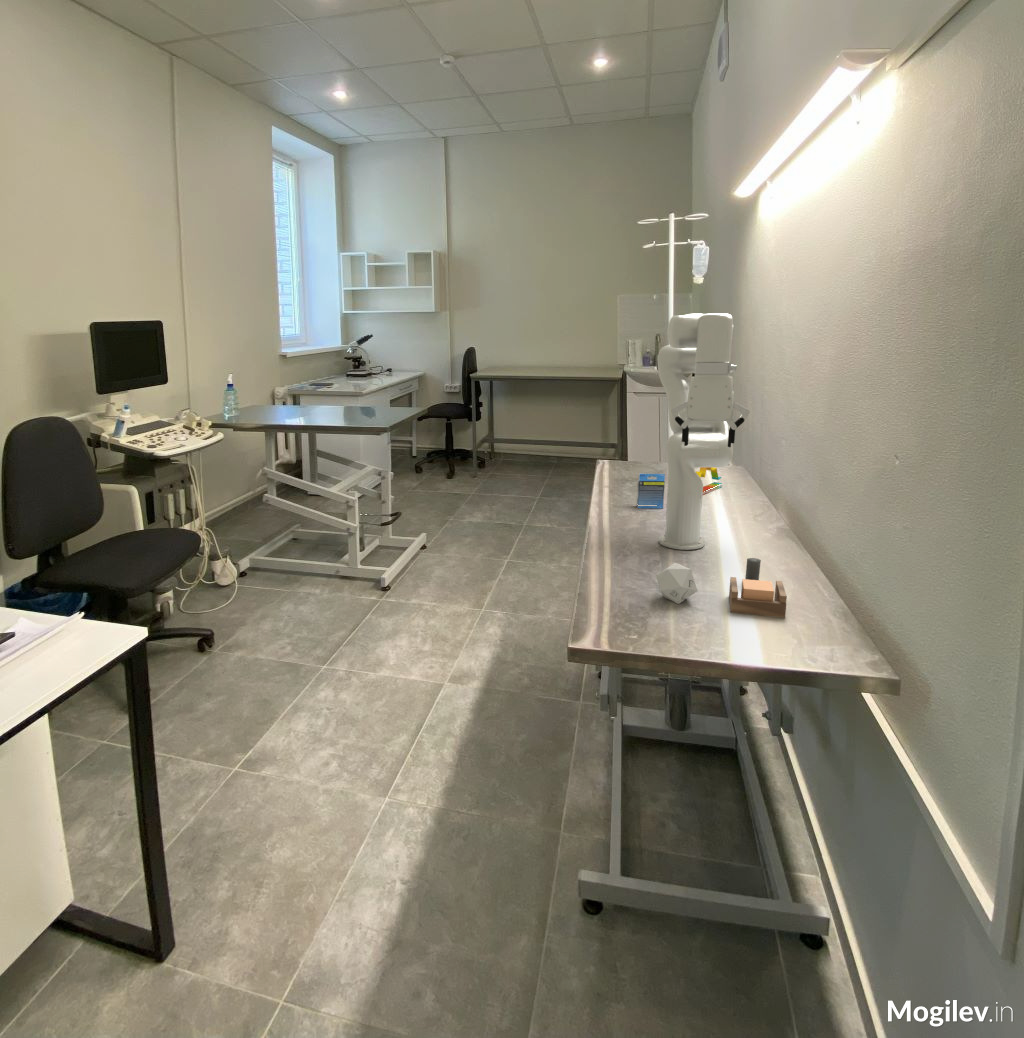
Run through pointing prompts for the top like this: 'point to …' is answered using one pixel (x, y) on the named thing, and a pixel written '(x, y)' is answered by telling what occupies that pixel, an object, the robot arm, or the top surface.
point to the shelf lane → (758, 602)
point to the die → (676, 583)
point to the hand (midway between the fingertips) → (707, 445)
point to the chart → (714, 476)
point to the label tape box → (651, 491)
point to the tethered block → (756, 583)
